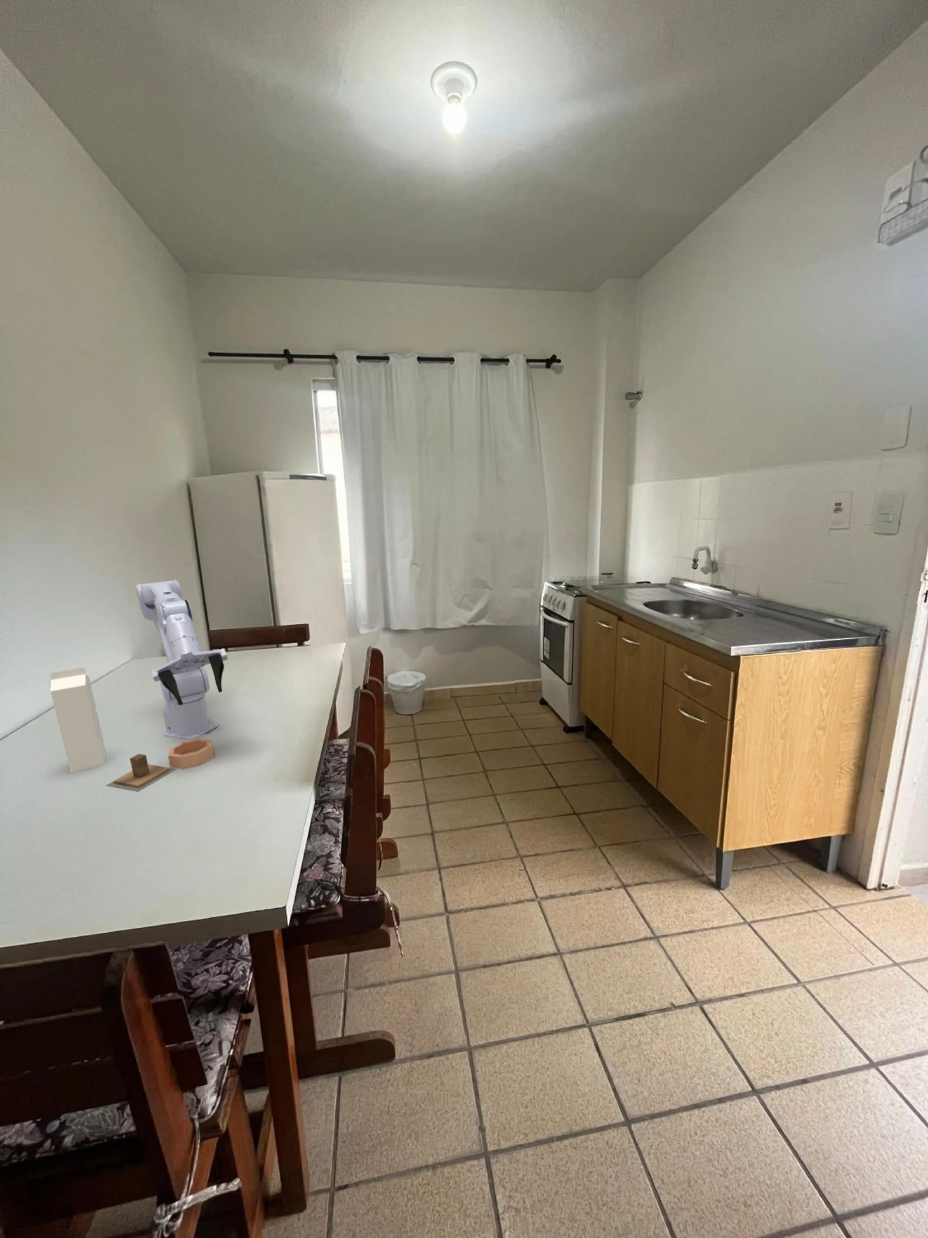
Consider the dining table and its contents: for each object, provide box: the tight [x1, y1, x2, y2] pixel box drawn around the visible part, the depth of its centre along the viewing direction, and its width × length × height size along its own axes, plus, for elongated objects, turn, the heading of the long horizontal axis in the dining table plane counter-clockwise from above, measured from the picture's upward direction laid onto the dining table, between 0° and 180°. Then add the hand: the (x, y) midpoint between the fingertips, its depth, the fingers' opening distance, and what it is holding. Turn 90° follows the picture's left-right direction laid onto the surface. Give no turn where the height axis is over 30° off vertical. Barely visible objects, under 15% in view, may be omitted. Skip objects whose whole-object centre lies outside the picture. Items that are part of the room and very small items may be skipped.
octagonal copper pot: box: [167, 737, 215, 770], centre depth 112 cm, size 8×8×3 cm
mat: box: [105, 763, 178, 793], centre depth 106 cm, size 9×9×1 cm
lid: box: [112, 753, 170, 788], centre depth 105 cm, size 7×7×5 cm
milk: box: [49, 666, 108, 774], centre depth 111 cm, size 6×6×22 cm
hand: (200, 696), depth 106 cm, fingers open, 7 cm apart
